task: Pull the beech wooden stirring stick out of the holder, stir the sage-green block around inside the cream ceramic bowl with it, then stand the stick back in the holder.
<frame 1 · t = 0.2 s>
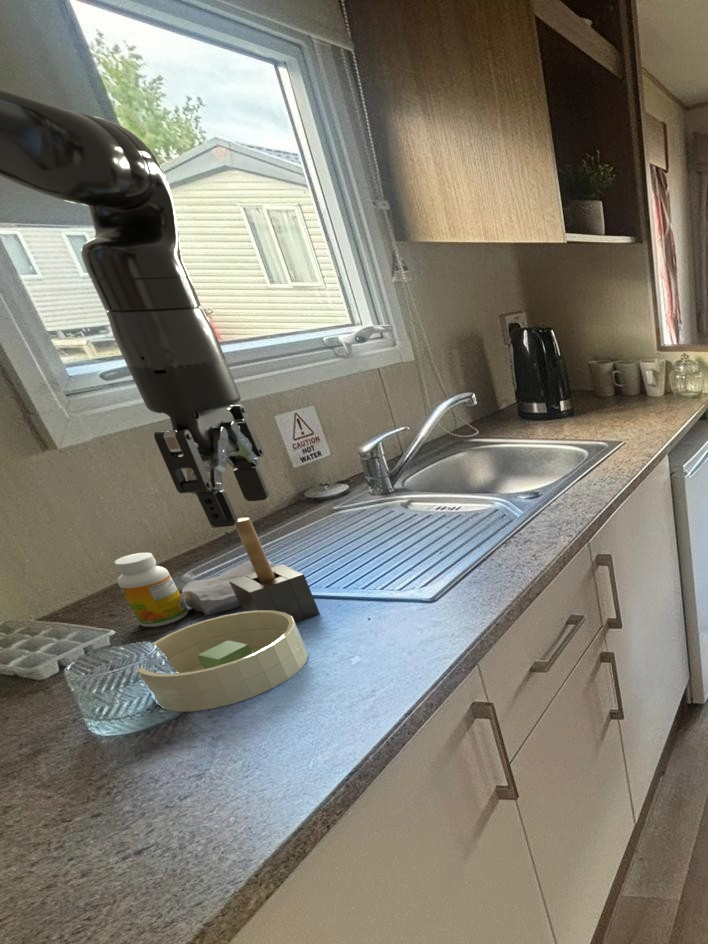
hand: (242, 512, 73), 21 cm above the countertop, tool pointing down, fingers open, 8 cm apart
stirrer: (264, 572, 91), in the holder
holder: (285, 621, 94), on the countertop
supplement bottle: (166, 620, 96), on the countertop
bowl: (237, 678, 82), on the countertop
sage block: (235, 674, 82), point 1 cm above the countertop, touching bowl
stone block: (247, 600, 101), on the countertop
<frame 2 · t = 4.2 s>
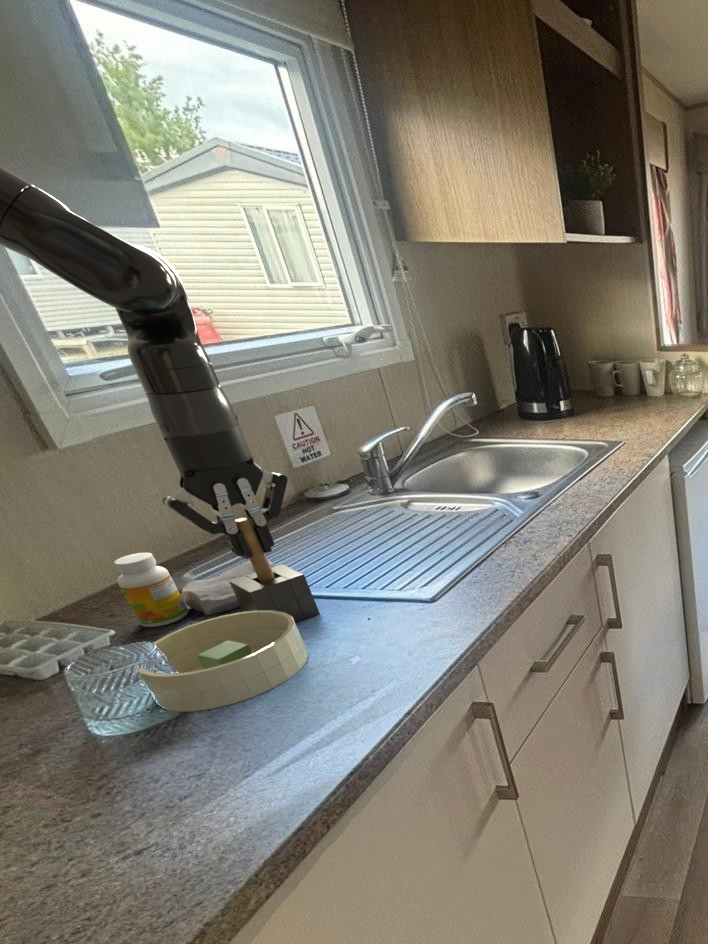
hand: (256, 553, 89), 11 cm above the countertop, tool pointing down, fingers closed on stirrer, 2 cm apart
stirrer: (264, 572, 91), in the holder, touching gripper
everything else where it was.
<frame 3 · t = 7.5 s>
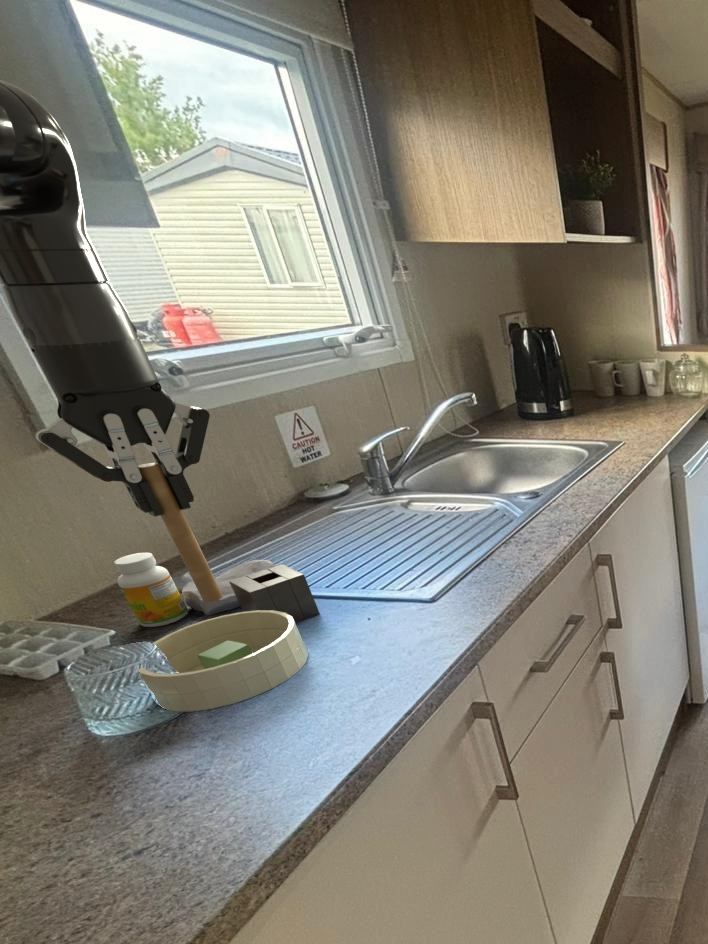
hand: (169, 510, 70), 23 cm above the countertop, tool pointing down, fingers closed on stirrer, 2 cm apart
stirrer: (182, 535, 71), point 20 cm above the countertop, touching gripper
everything else where it was.
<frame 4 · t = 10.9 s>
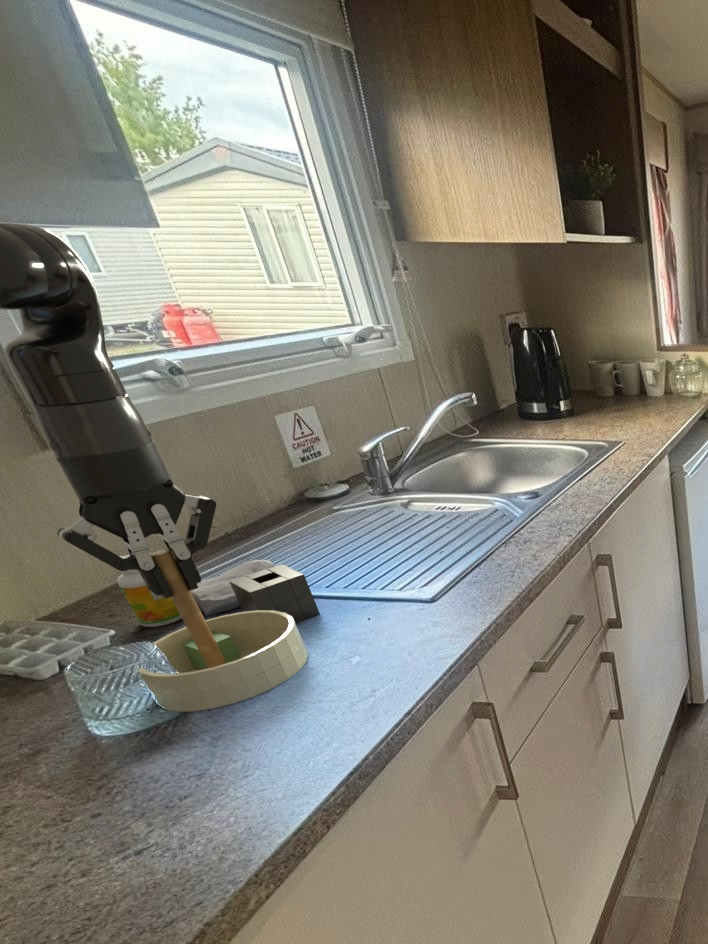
hand: (179, 591, 76), 12 cm above the countertop, tool pointing down, fingers closed on stirrer, 2 cm apart
stirrer: (190, 612, 77), point 9 cm above the countertop, touching gripper
sage block: (218, 664, 84), point 1 cm above the countertop, touching bowl
everything else where it was.
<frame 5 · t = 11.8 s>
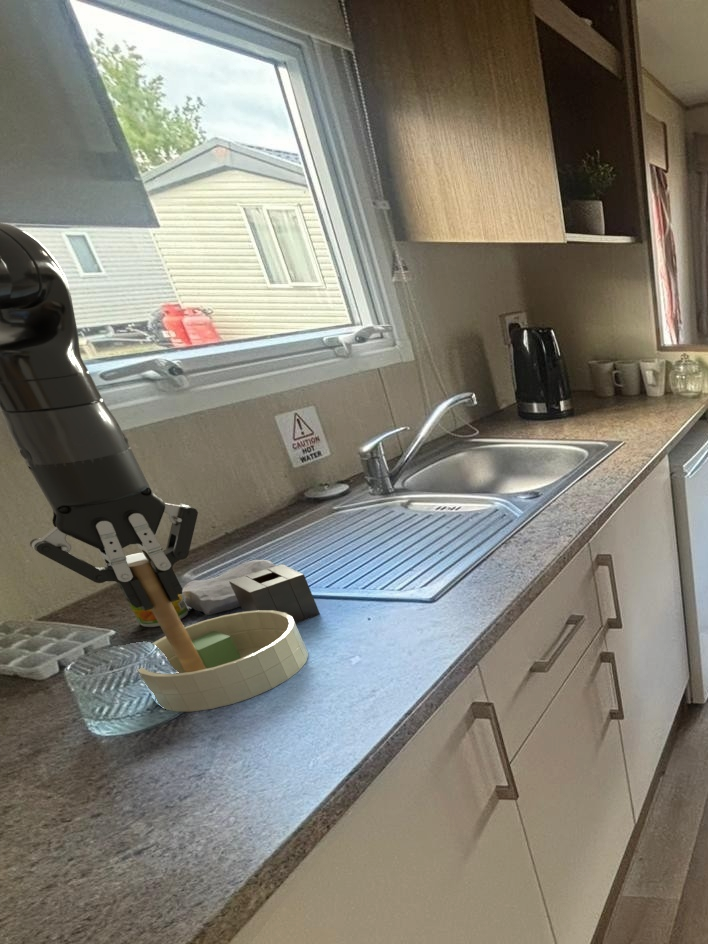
hand: (159, 603, 73), 12 cm above the countertop, tool pointing down, fingers closed on stirrer, 2 cm apart
stirrer: (171, 625, 75), point 9 cm above the countertop, touching gripper
everything else where it was.
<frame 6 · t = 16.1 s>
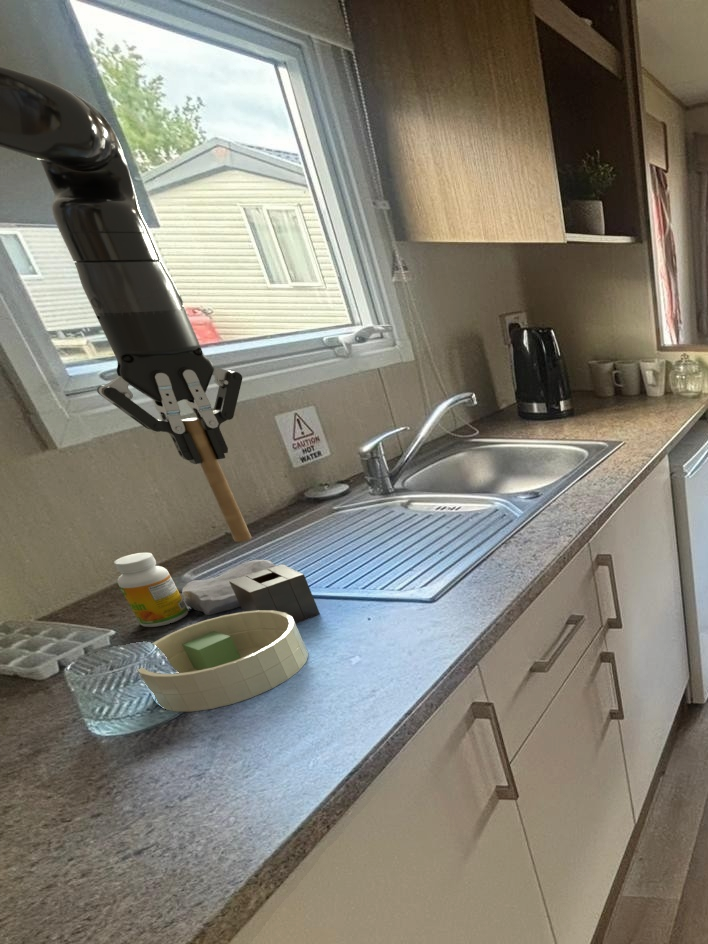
hand: (207, 459, 81), 24 cm above the countertop, tool pointing down, fingers closed on stirrer, 2 cm apart
stirrer: (217, 482, 82), point 22 cm above the countertop, touching gripper
everything else where it was.
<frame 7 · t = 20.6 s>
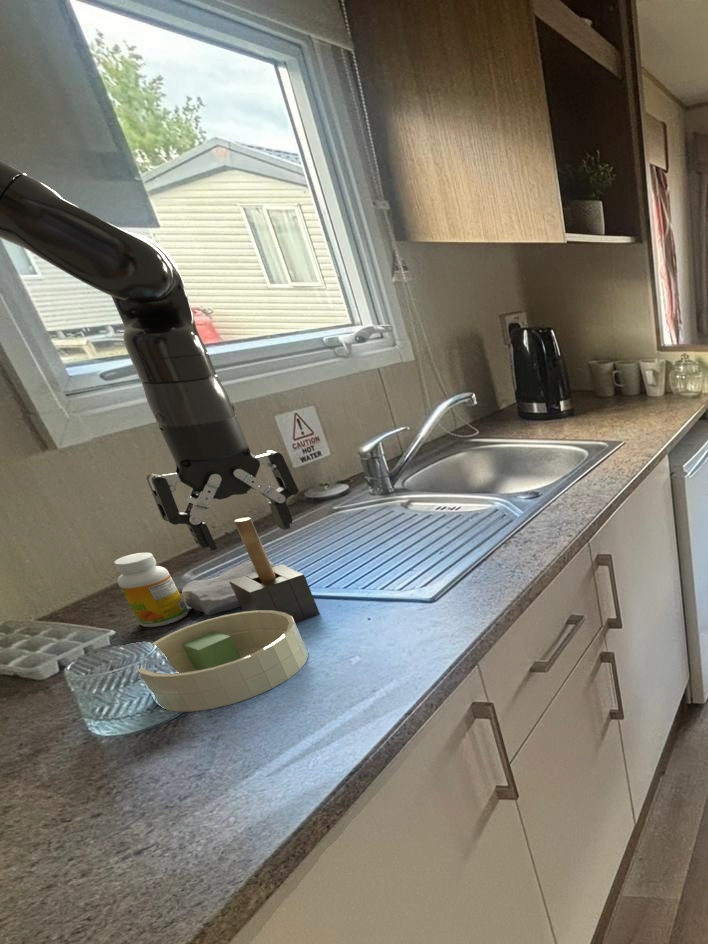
hand: (249, 538, 88), 13 cm above the countertop, tool pointing down, fingers open, 8 cm apart
stirrer: (265, 572, 91), in the holder
everything else where it was.
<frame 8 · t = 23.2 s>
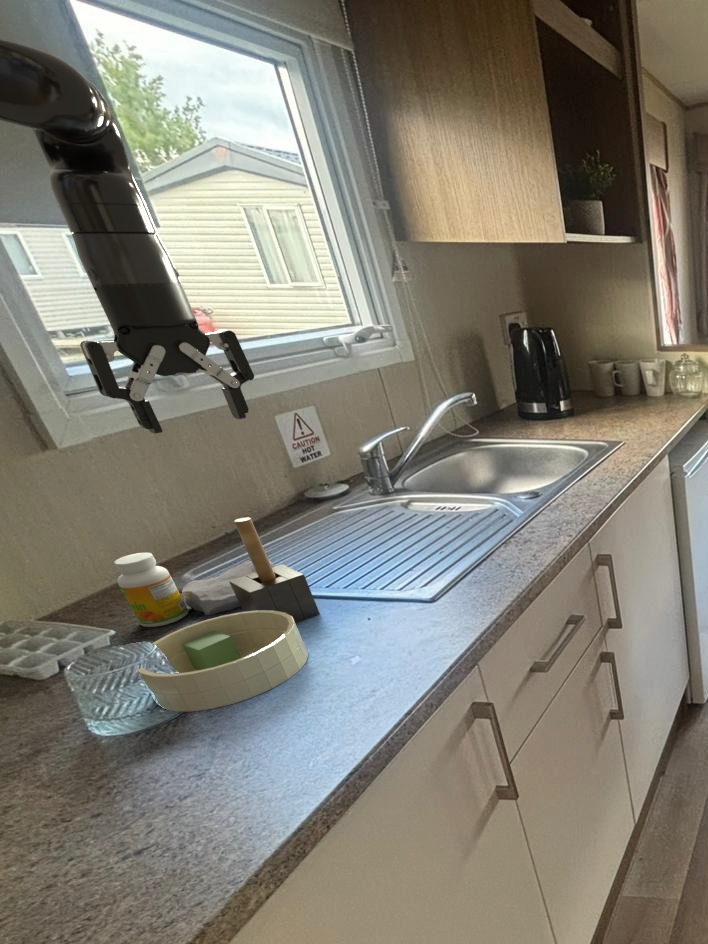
hand: (199, 425, 81), 28 cm above the countertop, tool pointing down, fingers open, 8 cm apart
nothing on the countertop moved.
at the end: sage block moved 4.4 cm from its start; sage block inside the target area in the bowl (4.4 cm from its centre), point 0.6 cm above the bowl's base; stirrer 0.1 cm off-centre in the holder, point 7.8 cm above the holder's base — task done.
